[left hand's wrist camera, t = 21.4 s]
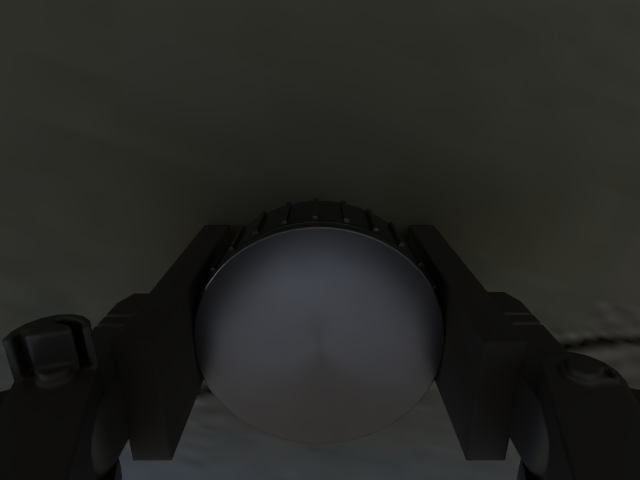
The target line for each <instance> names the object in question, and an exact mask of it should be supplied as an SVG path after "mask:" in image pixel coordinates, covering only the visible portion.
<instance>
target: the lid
mask: <svg viewBox="0 0 640 480" xmlns="http://www.w3.org/2000/svg"><path fill="white" fill-rule="evenodd" d="M435 290H437V288H436V285H435V284H434V282H433V280H432V278H431V277H430V275H429V273H428V271H427V270H426V268H425V266H424V264H423V262H422V261H421V259H420V258H419V256H418V254H417V252H416V251H415V249H414V247H413V245H412V243H411V242H410V241H409V240H407V241H405V239H404V238H403V237H402V236H401V235H400V234H399V233H398V232H397V230H396V228H395V226H394V224H393V223H391V222H390V223H389V224H388V223H386V222H385V221H384V220H382V219H381V218H379V217H377V216H375V215H374V214H373V213H372V211H371V210H370V209H368V208H367V210H366V211H365V210H363V209H360V208H358V207H355V206H351V205H347V204H346V202H345V201H342V200H341V203H337V202H329V201H318V198H314V201H310V202H301V203H295V204H291V202H288V203H286V206H284V207H281V208H278V209H276V210H273V211H271V212H269V213H266V212H265V211H264V212H262V213H261V215H260V218H258V219H256V220H255V221H254V222H252V223H251V224H250V225H248V226H247V227H246V228H245V227H244V226H242V227H241V228H240V230H239V232H238V234H237V235H236V237H235V239H234V240H233V241H232V243H231V244H230V245H229V246H228V245H227V244H226V246H225V247H224V249H223V250H222V252H221V254H220V256H219V257H218V259H217V261H216V262H215V264H214V266H213V268H212V269H211V274H210V276H209V277H208V279H207V281H206V283H205V284H204V286H203V288H202V290H201V291H200V294H199V296H201V297H200V300H199V303H198V306H197V308H196V313H195V318H194V323H193V343H194V351H195V356H196V360H197V364H198V367H199V369H200V371H201V374H202V376H203V378H204V380H205V382H206V384H207V385H208V387H209V388H210V390H211V392H212V393H213V394H214V395H215V397H216V398H217V399H218V400H219V402H220V403H221V404H222V405H224V406H225V407H226V408H227V409H228V410H229V411H230V412H231V413H232V414H234V415H235V416H236V417H238V418H239V419H240V420H242V421H243V422H245V423H247V424H248V425H250V426H252V427H253V428H255V429H258V430H260V431H262V432H264V433H267V434H269V435H272V436H275V437H278V438H282V439H286V440H291V441H296V442H304V443H334V442H343V441H348V440H353V439H357V438H360V437H363V436H366V435H370V434H372V433H374V432H376V431H379V430H381V429H383V428H385V427H387V426H388V425H390V424H392V423H394V422H395V421H397V420H398V419H400V418H401V417H402V416H404V415H405V414H406V413H408V412H409V411H410V410H411V409H412V408H413V407H414V406H415V405H416V404H417V403H418V402H419V401H420V400H421V398H422V397H423V396H424V395H425V393H426V392H427V391H428V389H429V387H430V386H431V384H432V383H433V381H434V379H435V377H436V375H437V372H438V370H439V368H440V365H441V361H442V358H443V352H444V343H445V322H444V316H443V311H442V308H441V305H440V302H439V299H438V296H437V294H436V293H435Z"/></svg>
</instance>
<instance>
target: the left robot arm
mask: <svg viewBox="0 0 640 480" xmlns="http://www.w3.org/2000/svg"><path fill="white" fill-rule="evenodd" d="M408 240H409V241H410V242H411V243H412V245H413V247H414V249H415V251H416V252H417V254H418V256H419V258H420V259H421V261H422V262H423V264H424V266H425V268H426V270H427V271H428V273H429V275H430V277H431V278H432V280H433V282H434V284H435V285H436V288H437V290H435V293H436V294H437V296H438V299H439V302H440V305H441V308H442V311H443V316H444V322H445V343H444V352H443V358H442V361H441V365H440V368H439V370H438V372H437V375H436V377H435V382H436V384H437V387H438V389H439V392H440V394H441V397H442V399H443V402H444V404H445V407H446V409H447V412H448V414H449V417H450V420H451V422H452V425H453V427H454V430H455V432H456V435H457V437H458V440H459V442H460V445H461V447H462V450H463V452H464V455H465V458H466V460H505V457H506V452H507V447H508V441H509V437H510V438H511V440H512V442H513V444H514V446H515V448H516V449H517V451H518V453H519V455H520V457H521V461H520V466H519V471H518V475H517V480H640V390H638V389H633V388H629V386H628V384H627V382H626V381H625V380H624V378H623V377H622V376H621V375H620V374H619V373H618V372H617V371H616V370H615V369H613V368H612V367H610V366H609V365H607V364H606V363H604V362H601V361H599V360H597V359H594V358H592V357H590V356H586V355H582V354H578V353H574V352H567V351H566V350H565V349H564V347H563V346H562V345H561V344H560V343H559V342H558V341H557V340H556V339H555V338H554V337H553V336H552V335H551V333H550V332H549V331H548V330H547V329H546V328H545V327H544V326H543V325H540V322H539V321H538V319H537V318H536V317H535V316H534V315H532V313H531V312H530V311H529V310H528V309H527V308H526V307H525V305H524V304H523V303H522V302H521V301H519V300H517V299H515V298H514V297H512V296H510V295H508V294H506V293H505V292H487V291H486V290H485V289H484V287H483V286H482V285H481V284H480V282H479V281H478V280H477V279H476V278H475V276H474V275H473V274H472V273H471V271H470V270H469V269H468V268H467V266H466V265H465V264H464V263H463V262H462V260H461V259H460V258H459V257H458V255H457V254H456V253H455V252H454V250H453V249H452V248H451V247H450V246H449V244H448V243H447V242H446V241H445V239H444V238H443V237H442V236H441V234H440V233H439V232H438V231H437V230H436V228H435V227H434V226H433V225H410V226H409V239H408ZM226 244H227V245H228V246H229V245H230V239H229V226H228V225H205V226H204V227H203V228H202V229H201V231H200V232H199V233H198V234H197V236H196V237H195V238H194V239H193V241H192V242H191V243H190V244H189V245H188V247H187V248H186V249H185V250H184V252H183V253H182V254H181V255H180V257H179V258H178V259H177V260H176V261H175V263H174V264H173V265H172V266H171V268H170V269H169V270H168V271H167V273H166V274H165V275H164V276H163V277H162V279H161V280H160V281H159V282H158V284H157V285H156V286H155V287H154V289H153V290H152V291H151V292H150V294H133V295H131V296H129V297H127V298H126V299H124V300H122V301H120V302H119V303H117V304H116V305H115V306H114V307H113V308H112V309H111V311H110V312H109V313H108V314H107V317H104V318H103V319H102V320H101V321H100V322H99V324H98V327H95V328H94V329H93V330H92V329H91V324H90V321H89V320H88V319H86V318H85V317H84V316H79V315H73V314H67V315H55V316H50V317H45V318H41V319H38V320H35V321H32V322H30V323H27V324H24V325H23V326H21V327H19V328H17V329H15V330H14V331H12V332H11V333H10V334H8V335H7V336H6V337H5V338H4V339H3V340H2V341H3V344H4V347H5V351H6V354H7V358H8V361H9V364H10V368H11V371H12V374H13V378H14V383H13V385H12V387H11V389H10V390H7V391H2V392H0V480H121V479H122V473H121V466H120V461H119V456H120V454H121V452H122V450H123V448H124V446H125V444H126V443H127V441H128V439H129V441H130V446H131V451H132V456H133V460H172V458H173V455H174V453H175V450H176V448H177V445H178V443H179V440H180V438H181V435H182V433H183V430H184V427H185V425H186V422H187V420H188V417H189V415H190V412H191V410H192V407H193V405H194V402H195V400H196V397H197V395H198V392H199V389H200V387H201V384H202V382H203V379H204V378H203V376H202V374H201V371H200V369H199V367H198V364H197V360H196V356H195V351H194V343H193V323H194V318H195V313H196V308H197V306H198V303H199V300H200V297H201V296H199V294H200V291H201V290H202V288H203V286H204V284H205V283H206V281H207V279H208V277H209V276H210V274H211V269H212V268H213V266H214V264H215V262H216V261H217V259H218V257H219V256H220V254H221V252H222V250H223V249H224V247H225V246H226Z"/></svg>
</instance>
